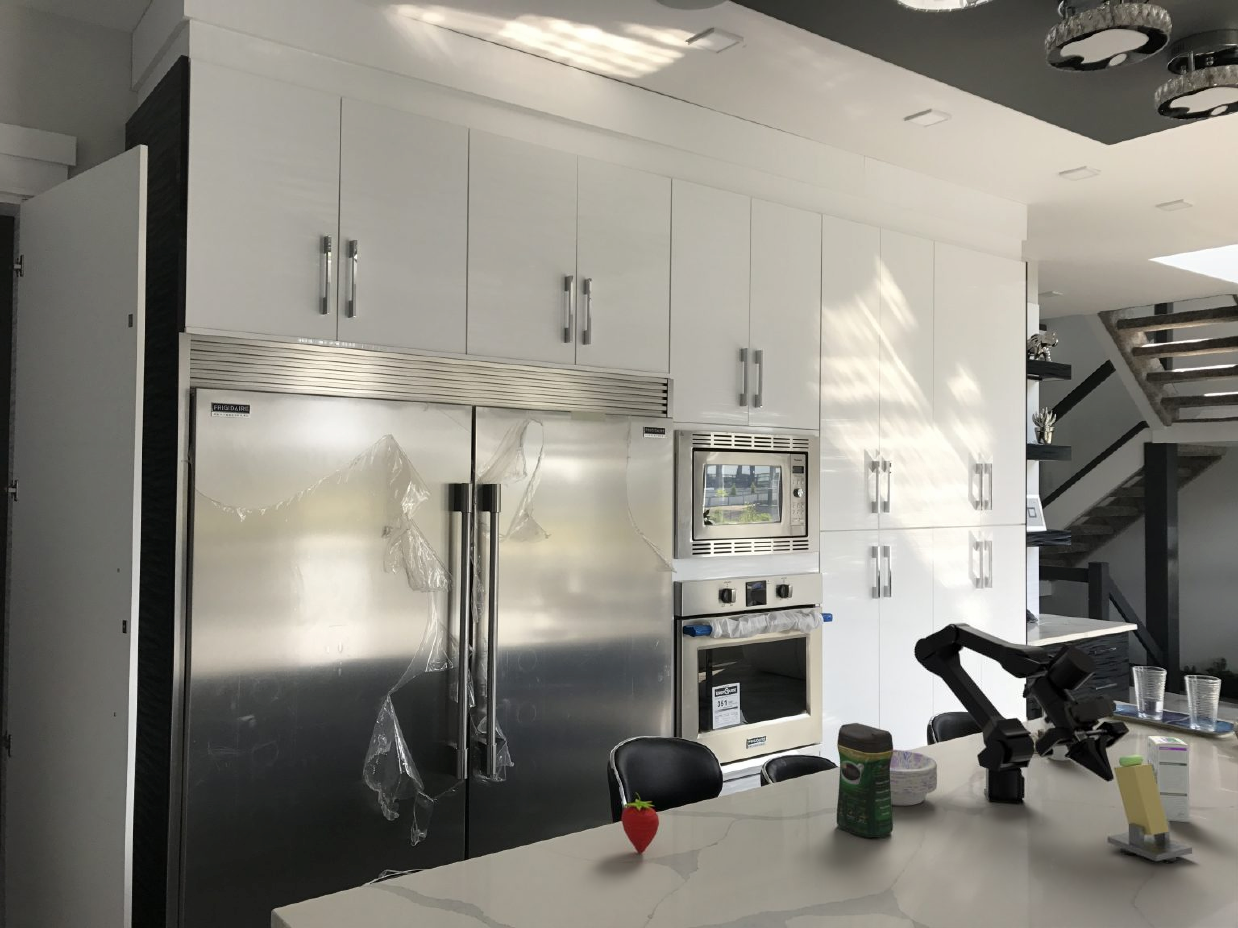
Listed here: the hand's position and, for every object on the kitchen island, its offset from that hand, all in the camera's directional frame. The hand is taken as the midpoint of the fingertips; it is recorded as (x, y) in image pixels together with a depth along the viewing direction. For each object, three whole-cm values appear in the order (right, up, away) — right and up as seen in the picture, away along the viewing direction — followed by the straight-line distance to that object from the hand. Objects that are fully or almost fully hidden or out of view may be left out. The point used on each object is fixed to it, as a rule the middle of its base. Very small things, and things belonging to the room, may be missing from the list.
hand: (1110, 780), depth 169 cm
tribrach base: (+3, -10, -7) cm, 13 cm away
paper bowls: (-32, -11, +20) cm, 39 cm away
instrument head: (+3, -6, -7) cm, 10 cm away
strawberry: (-84, -9, -11) cm, 85 cm away
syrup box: (+17, -11, +12) cm, 24 cm away
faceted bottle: (+15, -12, +52) cm, 55 cm away
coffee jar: (-43, -10, +2) cm, 44 cm away
